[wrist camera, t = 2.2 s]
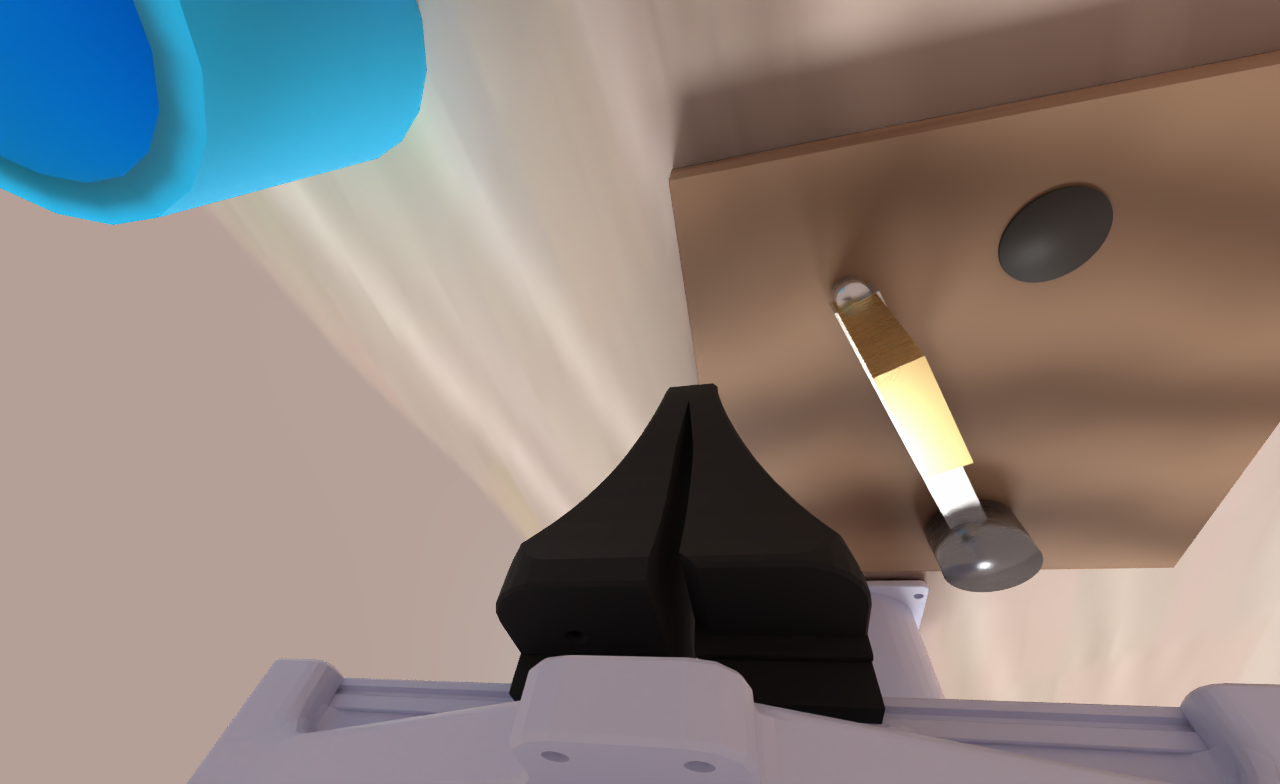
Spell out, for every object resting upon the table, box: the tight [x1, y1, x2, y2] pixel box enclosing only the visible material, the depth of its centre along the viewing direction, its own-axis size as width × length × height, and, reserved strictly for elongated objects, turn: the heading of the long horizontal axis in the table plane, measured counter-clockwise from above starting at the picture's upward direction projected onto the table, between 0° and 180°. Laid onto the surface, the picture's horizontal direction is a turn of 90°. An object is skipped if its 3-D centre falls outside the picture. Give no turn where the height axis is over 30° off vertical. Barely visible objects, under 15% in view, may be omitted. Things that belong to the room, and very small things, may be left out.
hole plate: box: [669, 50, 1280, 572], centre depth 18 cm, size 20×20×2 cm
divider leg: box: [829, 275, 1043, 592], centre depth 16 cm, size 16×4×5 cm, turn 36°
